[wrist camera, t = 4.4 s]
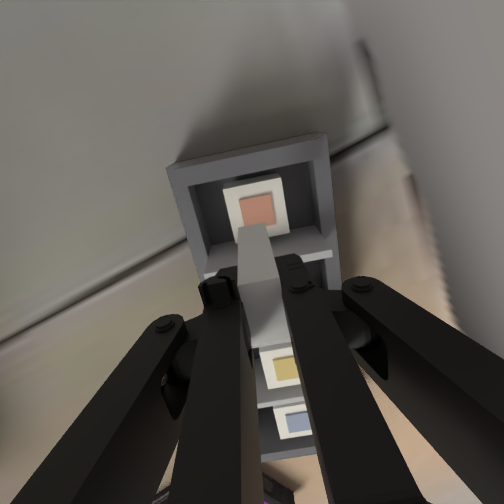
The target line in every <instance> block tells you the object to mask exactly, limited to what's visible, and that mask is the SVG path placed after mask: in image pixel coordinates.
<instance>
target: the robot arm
mask: <svg viewBox="0 0 504 504" xmlns="http://www.w3.org/2000/svg"><path fill="white" fill-rule="evenodd" d="M198 288H199V292H200V295H201V298H202V301H203V304H204V310H203V313H202V314H201V315H199V316H197V317H195V318H193V319H190V320H188V321H185V322H184V319H183V317H182V316H181V315H179V314H170V315H165V316H162V317H159V318H158V319H157V320H155V321H153V322H152V323H151V324H150V325H149V326H148V327H147V328H146V330H145V331H144V332H143V334H142V335H141V336H140V337H139V339H138V340H137V341H136V343H135V344H134V345H133V346H132V348H131V349H130V350H129V351H128V353H127V354H126V355H125V357H124V358H123V359H122V360H121V362H120V363H119V364H118V366H117V367H116V368H115V369H114V371H113V372H112V373H111V375H110V376H109V377H108V378H107V380H106V381H105V382H104V384H103V385H102V386H101V387H100V389H99V390H98V391H97V393H96V394H95V395H94V396H93V398H92V399H91V400H90V402H89V403H88V404H87V405H86V407H85V408H84V409H83V411H82V412H81V413H80V414H79V416H78V417H77V418H76V420H75V421H74V422H73V423H72V425H71V426H70V427H69V429H68V430H67V431H66V432H65V434H64V435H63V436H62V438H61V439H60V440H59V441H58V443H57V444H56V445H55V447H54V448H53V449H52V450H51V452H50V453H49V454H48V456H47V457H46V458H45V459H44V461H43V462H42V463H41V465H40V466H39V467H38V468H37V470H36V471H35V472H34V474H33V475H32V476H31V477H30V479H29V480H28V481H27V483H26V484H25V485H24V486H23V488H22V489H21V490H20V492H19V493H18V494H17V495H16V497H15V498H14V499H13V501H12V502H11V503H10V504H152V502H153V500H154V497H155V495H156V492H157V490H158V488H159V485H160V483H161V481H162V478H163V476H164V473H165V471H166V469H167V466H168V464H169V461H170V459H171V457H172V454H173V452H174V450H175V447H176V445H177V442H178V440H179V442H178V447H177V452H176V458H175V463H174V468H173V473H172V479H171V484H170V489H169V495H168V500H167V504H264V494H263V480H262V465H261V451H260V436H259V421H258V407H257V392H256V378H255V363H254V354H253V350H252V346H251V341H252V345H253V346H258V345H263V344H268V343H274V342H279V341H284V340H289V339H291V344H292V350H293V355H294V360H295V364H296V366H297V371H298V375H299V379H300V383H301V388H302V392H303V396H304V400H305V405H306V409H307V413H308V417H309V422H310V426H311V430H312V434H313V439H314V443H315V447H316V451H317V456H318V460H319V464H320V468H321V473H322V477H323V481H324V486H325V490H326V494H327V498H328V503H329V504H432V503H430V502H427V501H426V499H425V498H424V497H423V495H422V494H421V492H420V490H419V488H418V486H417V484H416V482H415V480H414V478H413V476H412V474H411V472H410V470H409V468H408V466H407V464H406V462H405V460H404V458H403V456H402V454H401V452H400V450H399V448H398V446H397V444H396V442H395V440H394V438H393V436H392V434H391V432H390V429H389V427H388V425H387V423H386V421H385V419H384V417H383V415H382V413H381V411H380V409H379V407H378V405H377V403H376V401H375V399H374V397H373V395H372V393H371V391H370V389H369V387H368V385H367V383H366V381H365V379H364V377H363V375H362V373H361V371H360V369H359V367H358V365H357V363H358V364H359V365H360V366H361V367H362V368H363V369H364V370H365V372H366V373H367V374H368V375H369V376H370V377H371V378H372V379H373V381H374V382H375V383H376V384H377V385H378V386H379V387H380V388H381V390H382V391H383V392H384V393H385V394H386V395H387V396H388V397H389V399H390V400H391V401H392V402H393V403H394V404H395V405H396V406H397V408H398V409H399V410H400V411H401V412H402V413H403V414H404V415H405V417H406V418H407V419H408V420H409V421H410V422H411V423H412V424H413V426H414V427H415V428H416V429H417V430H418V431H419V432H420V434H421V435H422V436H423V437H424V438H425V439H426V440H427V441H428V443H429V444H430V445H431V446H432V447H433V448H434V449H435V450H436V452H437V453H438V454H439V455H440V456H441V457H442V458H443V459H444V461H445V462H446V463H447V464H448V465H449V466H450V467H451V468H452V470H453V471H454V472H455V473H456V474H457V475H458V476H459V477H460V479H461V480H462V481H463V482H464V483H465V484H466V485H467V486H468V488H469V489H470V490H471V491H472V492H473V493H474V494H475V495H476V497H477V498H478V499H479V500H480V501H481V502H482V503H483V504H504V359H502V358H501V357H499V356H497V355H496V354H494V353H493V352H491V351H489V350H488V349H486V348H485V347H483V346H482V345H480V344H479V343H477V342H475V341H474V340H472V339H471V338H469V337H468V336H466V335H464V334H463V333H461V332H460V331H458V330H456V329H455V328H453V327H452V326H450V325H449V324H447V323H445V322H444V321H442V320H441V319H439V318H438V317H436V316H434V315H433V314H431V313H430V312H428V311H427V310H425V309H423V308H422V307H420V306H419V305H417V304H416V303H414V302H412V301H411V300H409V299H408V298H406V297H404V296H403V295H401V294H400V293H398V292H397V291H395V290H393V289H392V288H390V287H389V286H387V285H386V284H384V283H382V282H381V281H379V280H377V279H375V278H372V277H366V276H361V277H360V276H357V277H354V278H350V279H348V280H346V281H344V282H343V284H342V287H341V290H327V289H322V288H320V287H319V285H318V284H317V283H316V282H315V281H314V280H311V277H310V275H309V273H308V271H307V269H306V267H305V265H304V263H303V261H302V258H301V257H300V256H299V255H297V254H295V253H292V254H287V255H282V256H277V257H274V255H273V251H272V247H271V244H270V240H269V236H268V233H267V229H266V225H265V222H263V223H258V224H253V225H248V226H243V227H238V265H237V266H232V267H227V268H222V269H220V270H219V271H218V272H217V273H216V274H215V276H212V277H209V278H207V279H205V280H204V281H202V282H201V283H200V285H199V286H198ZM356 361H357V362H356ZM163 377H164V378H163ZM162 379H163V380H162Z"/></svg>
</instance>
